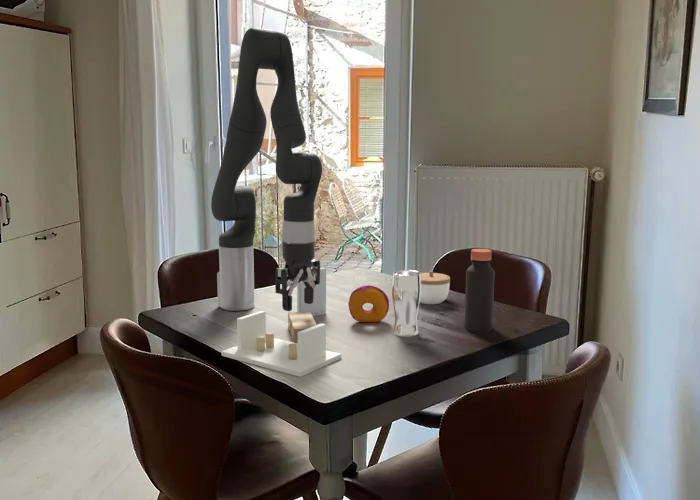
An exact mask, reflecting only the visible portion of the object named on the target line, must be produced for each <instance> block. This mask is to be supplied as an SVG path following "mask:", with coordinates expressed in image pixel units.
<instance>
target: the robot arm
mask: <svg viewBox="0 0 700 500" xmlns="http://www.w3.org/2000/svg"><path fill="white" fill-rule="evenodd" d="M294 66H295V65H294V57H293V49H292V45H291V41H290V38H289V36H288V34H286V33H285V32H284V31H281V30H274V29H270V28H269V29H267V28H259V27H258V28H257V27H250V28H248V29H247V30H246V31H245V32H244V35H243V37H242V40H241V45H240V52H239V60H238V68H237V69H238V70H237V71H238V72H237V79H236V86H235V87H236V88H235V93H234V99H233V104H232V109H231V113H230V118H229V122H228V127H227V133H226V139H225V144H224V150H223V154H222V159H221V164H220V167H219V169H218V170H219V171H218V174H217V177H216V181H215V184H214V187H213V191H212V194H211V202H210V204H211V205H210V209H211V213H212V216H213V217H214V219H215V220H216V221H219V222H234V223H233V225H232V226H231V227H230V228H229V229H228V230H226V231H224V232H222V233H221V234H220V235H219V237H218V259H219V263H218V264H219V271H218V272H217V273H216V283H217V288H216V289H217V306H218V307H220V308H221V309H222V310H225V311H233V312H234V311H235V312H238V311H246V310H250V309H253V308H254V307H255V272H254V271H255V269H254V268H255V267H254V265H255V263H254V259H255V257H254V239H255V235H256V219H257V218H256V217H257V216H256V215H257V201H256V196H255V193H254V191H253V189H252V187H250V186H248V185H237V183H238V180H239V178H240V177H241V175H242V173H243V172H244V170H245V169H246V168H247V167H248V165H250V164H251V162H252V161H253V160H254V158H255V157H256V156H257V155H258V153H259V152H260V150H261V149H262V146H263V143H264V139H265V133H266V129H267V116H266V112H265V111H264V107H263V105H262V102H261V99H260V97H259V93H258V89H257V78H258V72H259V69H262V70H271V71H274V72H275V74H276V77H277V88H276V91H275V94H274V97H273V100H272V102H271V106H270V110H269V111H270V113H269V114H270V122H271V125H272V130H273V134H274V138H275V145H276V148H275V149H276V150H275V154H276V156H275V174H276V177H277V178H278V179H279V181H280V182H282V184H285V185H300V186H299V189H298V190H297V191H295V192H293V193H290V194H288V195H286V196H285V197H284V199H283V225H282V250H281V251H282V254H281V255H282V259H283V260H284V261H285V264H284V267H283V268H282V267H281V268H279V267H276V268H275V270H274V272H275V274H274V275H275V276H274V277H275V279H274V280H275V284H274V287H275V290H274V291H275V294H278V295H279V294H280V295H281V297H282V299H281V303H282V304H281V305H282V306H281V307H282V310H283V311H285V312H292V310H293V295H292V294H293V291H294V289H295V288H297V284H298V283H299V282H301V281H302V282H303V284H304V286H305V287H306V288H304V302H305V303H307V304H312V303H313V299H314V295H313V294H314V288H315V285H317V284H319V283H320V268H321V260H317V259H315V256H316V255H315V251H316V250H315V245H316V244H315V243H316V242H315V241H316V240H315V239H316V238H315V236H316V230H315V229H316V227H315V220H314V219H315V202H316V201H315V200H316V197H317V193H318V189H319V186H320V183H321V178H322V176H323V175H322V174H323V165H322V161H321V159H320V158H319V156H318V155H317V154H316V153H313V152H297V153H296V152H293V149H296V148H298V147H300V146H303V144H305V142H306V140H307V135H306V131H305V126H304V123H303V119H302V116H301V112H300V107H299V102H298V98H297V97H298V96H297V89H296V88H297V85H296V76H295V75H296V74H295V67H294ZM314 274H315V279H314Z"/></svg>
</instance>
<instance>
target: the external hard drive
mask: <svg viewBox="0 0 700 500" xmlns="http://www.w3.org/2000/svg"><path fill="white" fill-rule="evenodd" d="M314 279H315V274H314ZM304 288H306V287H305V286H304V284H303V282H302V281H301V282H299V283H298V284H297V286H296V296H297V297H296V304H297V305H296V306H297V307H296V309H297V312H311V314H312V316H313V317H315V316H316V317H317V316H321V315H326V314H327V268H326V267H320V283H319V284H317V285H315V288H314V294H313V295H314V299H313V303H312V304H307V303H305V302H304Z"/></svg>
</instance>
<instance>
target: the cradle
mask: <svg viewBox="0 0 700 500" xmlns="http://www.w3.org/2000/svg"><path fill="white" fill-rule="evenodd" d="M266 314H267V313H266V310H265V311H264V310H259V311H256V312H253V313H251V314H247V315H244V316H240V317H237V318H236V330H237V331H236V341H237V345H235V346H232V347H230V348H227V349H224V350H221V356H222V357H226V358H229V359H232V360H236V361H240V362H244V363H247V364H251V365H256V366H259V367H262V368H266V369H269V370H273V371H277V372H281V373H284V374H288V375H292V376H296V377H298V378H302V377H303V376H306V375H308V374H310V373H312V372H314V371H317V370H319V369H321V368H323V367H326V366H327V365H329V364H332V363H334V362H336V361H338V360H341V359H342V353H340V352H339V353H338V352H335V351H332V350H327V323H322V322H320V323H318V324H316V326H313V327H310V328H308V329H305V330H302V331H300V332H298V341H297V343H294V342H293V341H290V340H284V339H280V338H277V337H275V334H274V332H267V323H266V322H267V319H266V318H267V316H266Z"/></svg>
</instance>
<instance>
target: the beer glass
mask: <svg viewBox="0 0 700 500" xmlns="http://www.w3.org/2000/svg"><path fill="white" fill-rule="evenodd" d="M421 273H422V272H420V271H417V270H413V269H412V270H411V269H400V270H395V271H393V273H392V275H393V276H392V284H391V297H392V304H393V311H394V324H393V325H394V326H393V330H392V333H393V334H394V335H395V336H398V337H404V338H410V337H415V336H418V334H419V328H418V327H419V326H418V313H419V310H420V309H419V308H420V304H421V303H420V299H421Z"/></svg>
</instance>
